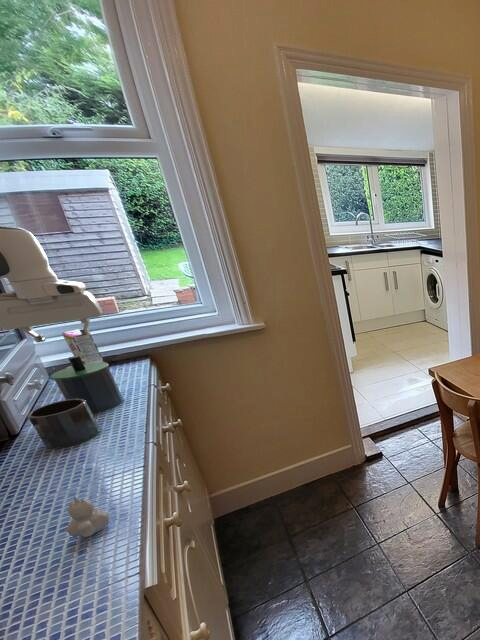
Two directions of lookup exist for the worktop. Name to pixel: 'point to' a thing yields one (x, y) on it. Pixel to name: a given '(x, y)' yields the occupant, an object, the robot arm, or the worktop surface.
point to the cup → (64, 423)
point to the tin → (93, 390)
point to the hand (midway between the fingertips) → (64, 338)
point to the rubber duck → (85, 518)
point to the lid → (79, 369)
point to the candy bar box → (82, 346)
